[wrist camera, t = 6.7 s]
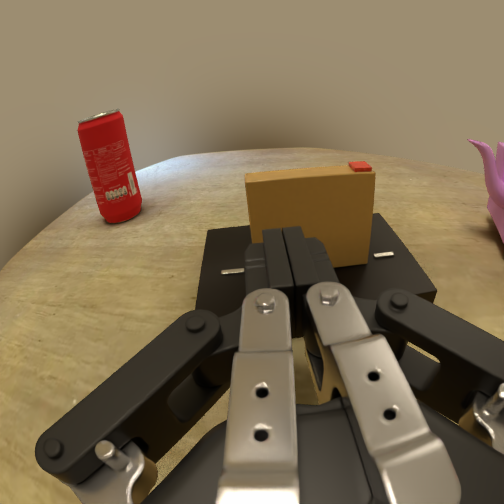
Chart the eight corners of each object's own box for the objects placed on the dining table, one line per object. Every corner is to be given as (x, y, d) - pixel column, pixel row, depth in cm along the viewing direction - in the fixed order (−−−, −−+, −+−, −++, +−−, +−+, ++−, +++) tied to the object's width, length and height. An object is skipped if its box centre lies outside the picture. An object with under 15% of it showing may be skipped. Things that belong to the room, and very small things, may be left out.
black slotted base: (198, 367, 16) (189, 342, 15) (211, 251, 26) (207, 227, 25) (439, 332, 16) (450, 306, 15) (377, 233, 25) (379, 211, 24)
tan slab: (256, 276, 19) (244, 177, 16) (255, 263, 20) (243, 169, 17) (367, 264, 19) (376, 168, 15) (360, 252, 20) (367, 160, 17)
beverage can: (97, 228, 32) (68, 125, 26) (109, 209, 36) (85, 117, 30) (140, 220, 32) (113, 112, 26) (147, 201, 37) (126, 106, 30)
